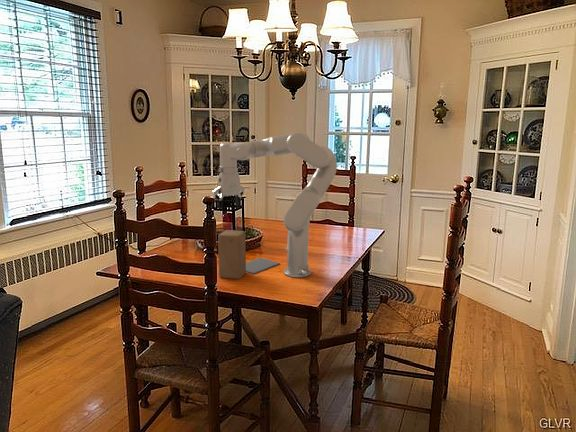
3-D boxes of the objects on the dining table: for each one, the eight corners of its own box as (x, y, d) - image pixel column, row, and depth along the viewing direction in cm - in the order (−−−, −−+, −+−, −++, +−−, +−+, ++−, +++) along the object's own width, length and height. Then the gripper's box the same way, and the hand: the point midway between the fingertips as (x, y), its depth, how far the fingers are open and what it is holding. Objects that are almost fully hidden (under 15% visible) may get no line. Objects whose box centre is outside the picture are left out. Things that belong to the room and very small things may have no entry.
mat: (253, 274, 209) (253, 273, 209) (233, 268, 217) (233, 267, 216) (279, 264, 223) (279, 262, 223) (259, 258, 231) (259, 257, 231)
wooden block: (239, 279, 202) (239, 236, 197) (218, 278, 204) (217, 234, 199) (246, 272, 211) (246, 230, 207) (226, 270, 213) (225, 229, 209)
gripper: (217, 172, 199) (217, 211, 203) (248, 169, 210) (249, 206, 214) (207, 171, 204) (208, 208, 208) (239, 168, 216) (239, 203, 219)
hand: (229, 207), depth 211 cm, fingers open, 9 cm apart
